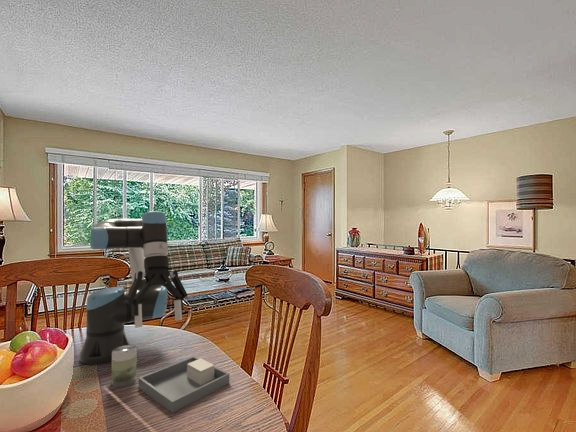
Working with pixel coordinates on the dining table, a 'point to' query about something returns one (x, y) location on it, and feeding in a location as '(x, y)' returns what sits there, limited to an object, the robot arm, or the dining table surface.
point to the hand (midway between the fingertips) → (159, 323)
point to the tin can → (124, 365)
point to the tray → (179, 385)
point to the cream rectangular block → (200, 371)
